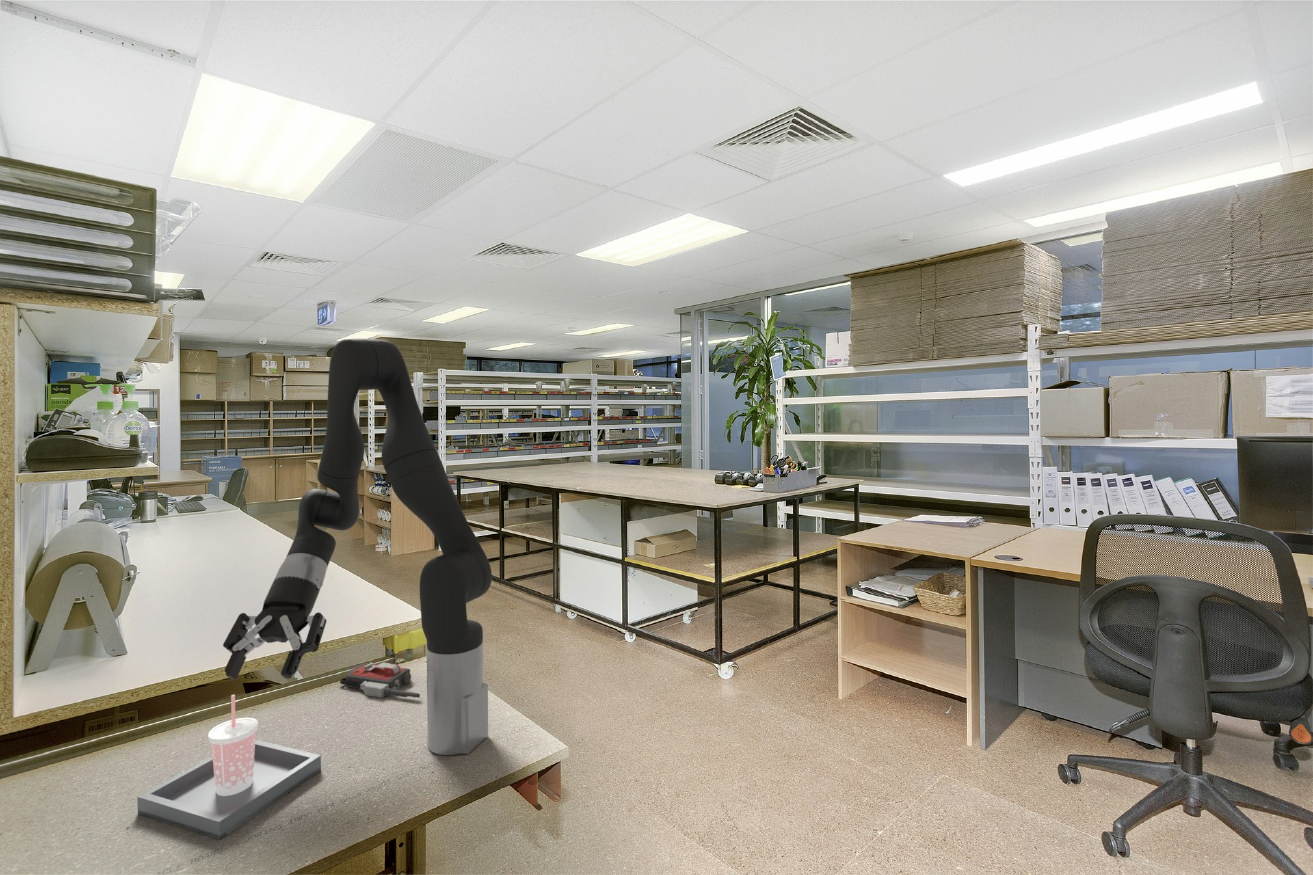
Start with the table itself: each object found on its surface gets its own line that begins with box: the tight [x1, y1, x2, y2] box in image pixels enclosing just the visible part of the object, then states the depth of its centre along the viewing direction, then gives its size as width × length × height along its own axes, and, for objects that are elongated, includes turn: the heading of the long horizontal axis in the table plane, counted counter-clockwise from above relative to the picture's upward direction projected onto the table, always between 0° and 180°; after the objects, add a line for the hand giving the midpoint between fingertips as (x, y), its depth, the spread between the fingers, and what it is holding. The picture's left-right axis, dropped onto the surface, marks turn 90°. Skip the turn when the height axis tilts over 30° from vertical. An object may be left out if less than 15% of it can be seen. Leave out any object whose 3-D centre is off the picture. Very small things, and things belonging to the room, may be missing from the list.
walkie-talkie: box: [339, 662, 421, 699], centre depth 122 cm, size 9×4×20 cm
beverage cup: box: [207, 694, 259, 796], centre depth 88 cm, size 6×6×14 cm
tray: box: [136, 739, 322, 841], centre depth 88 cm, size 16×16×2 cm
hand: (258, 677), depth 94 cm, fingers open, 8 cm apart
